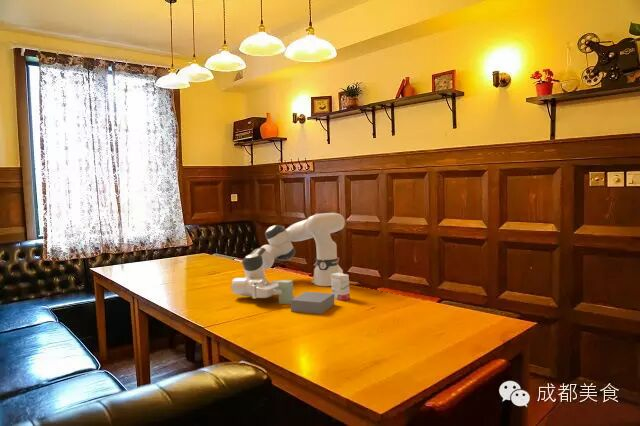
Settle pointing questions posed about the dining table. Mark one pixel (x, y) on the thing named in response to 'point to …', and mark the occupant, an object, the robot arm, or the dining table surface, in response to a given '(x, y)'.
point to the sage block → (286, 291)
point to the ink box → (340, 286)
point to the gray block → (312, 302)
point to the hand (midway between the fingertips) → (287, 289)
